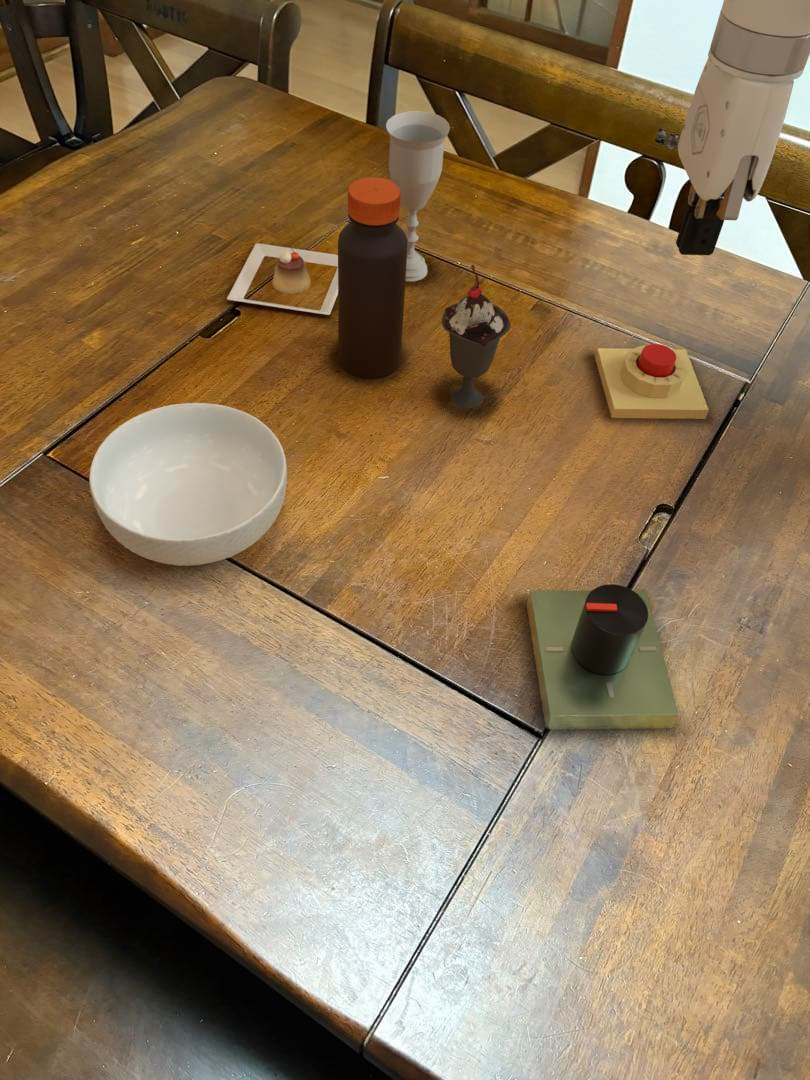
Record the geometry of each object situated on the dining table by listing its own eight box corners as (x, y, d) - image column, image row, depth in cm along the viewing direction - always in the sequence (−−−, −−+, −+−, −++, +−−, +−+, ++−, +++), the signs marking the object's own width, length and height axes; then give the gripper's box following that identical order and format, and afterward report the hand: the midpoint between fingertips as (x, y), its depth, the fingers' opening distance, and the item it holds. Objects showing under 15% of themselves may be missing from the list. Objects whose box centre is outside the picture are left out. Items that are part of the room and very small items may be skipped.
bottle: (380, 390, 97) (387, 217, 81) (326, 368, 98) (323, 195, 83) (411, 356, 100) (424, 185, 85) (359, 335, 102) (361, 164, 87)
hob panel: (638, 607, 80) (646, 589, 78) (670, 731, 72) (679, 714, 70) (525, 607, 79) (530, 589, 77) (544, 732, 71) (550, 715, 69)
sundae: (456, 371, 99) (470, 248, 88) (508, 397, 97) (530, 274, 86) (421, 403, 96) (432, 279, 84) (475, 430, 93) (493, 307, 82)
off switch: (681, 361, 102) (690, 336, 100) (704, 422, 96) (714, 396, 93) (593, 360, 102) (600, 334, 99) (610, 421, 95) (618, 395, 93)
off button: (667, 357, 98) (672, 343, 96) (675, 379, 95) (680, 365, 94) (634, 356, 98) (638, 343, 96) (641, 378, 95) (645, 365, 94)
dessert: (352, 265, 111) (352, 229, 108) (329, 323, 104) (329, 286, 100) (256, 250, 112) (253, 215, 109) (227, 307, 104) (223, 270, 101)
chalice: (426, 296, 108) (438, 148, 94) (372, 283, 109) (376, 134, 95) (444, 264, 112) (458, 118, 99) (392, 251, 114) (399, 106, 100)
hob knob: (626, 625, 75) (643, 582, 71) (635, 675, 72) (654, 634, 68) (568, 623, 75) (582, 580, 71) (575, 673, 72) (590, 631, 68)
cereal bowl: (297, 583, 79) (294, 530, 74) (100, 603, 77) (81, 549, 72) (282, 448, 90) (278, 393, 85) (108, 461, 88) (93, 405, 82)
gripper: (691, 4, 76) (638, 207, 90) (741, 83, 67) (672, 296, 81) (778, 8, 77) (712, 209, 91) (840, 87, 67) (755, 298, 81)
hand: (693, 249), depth 86 cm, fingers closed
